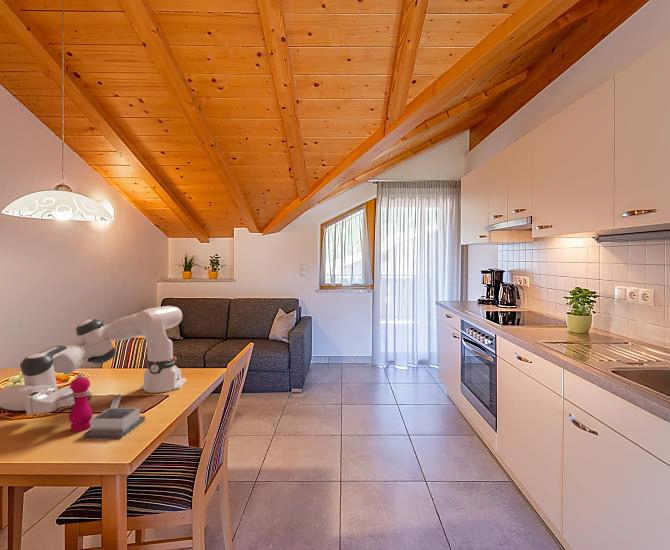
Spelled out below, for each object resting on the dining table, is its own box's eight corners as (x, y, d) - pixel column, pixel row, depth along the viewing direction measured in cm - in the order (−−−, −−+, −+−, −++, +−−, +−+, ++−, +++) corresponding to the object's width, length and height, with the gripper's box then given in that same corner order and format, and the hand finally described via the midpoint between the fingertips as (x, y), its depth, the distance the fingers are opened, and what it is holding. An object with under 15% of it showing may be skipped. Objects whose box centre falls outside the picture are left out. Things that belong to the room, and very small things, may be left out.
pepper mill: (83, 423, 152) (82, 370, 151) (97, 426, 149) (96, 371, 148) (64, 430, 145) (63, 374, 145) (78, 433, 142) (77, 377, 142)
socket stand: (111, 419, 155) (111, 405, 155) (145, 420, 154) (144, 406, 154) (84, 437, 139) (83, 422, 139) (121, 438, 138) (120, 422, 138)
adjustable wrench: (115, 398, 176) (114, 395, 176) (131, 394, 178) (130, 390, 178) (100, 424, 153) (98, 420, 152) (118, 419, 154) (117, 415, 154)
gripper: (65, 397, 158) (100, 397, 157) (22, 416, 137) (62, 417, 137) (65, 380, 158) (99, 381, 157) (22, 398, 137) (62, 398, 137)
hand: (82, 398), depth 147 cm, fingers open, 8 cm apart
